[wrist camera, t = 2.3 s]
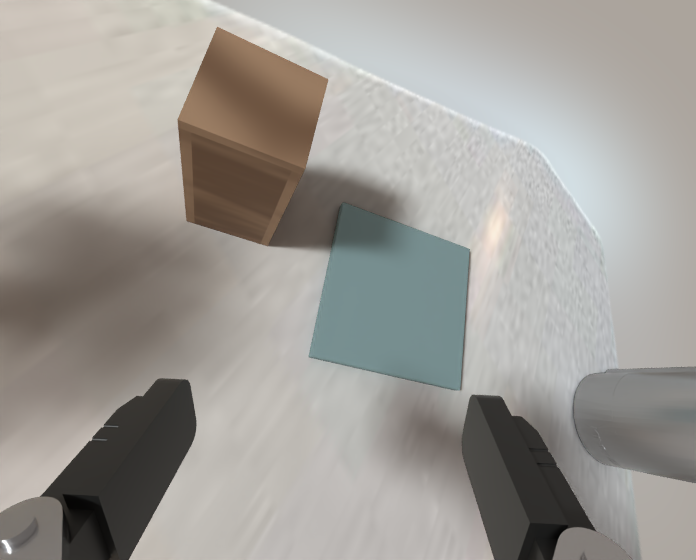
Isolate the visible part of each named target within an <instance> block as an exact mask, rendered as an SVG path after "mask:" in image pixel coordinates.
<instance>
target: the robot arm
mask: <svg viewBox="0 0 696 560" xmlns="http://www.w3.org/2000/svg"><path fill="white" fill-rule="evenodd" d="M573 409H574V420H575V424H576V429H577V432H578V434H579V437H580V439H581V441H582V443H583V445H584V447H585V448H586V449H587V451H588V452H589V453H590V455H591V456H593V457H594V458H595V459H596V460H597V461H599V462H601V463H602V464H605V465H609V466H614V467H619V468H624V469H629V470H634V471H639V472H643V473H648V474H653V475H657V476H662V477H667V478H672V479H678V480H682V481H687V482H692V483H696V367H671V368H644V369H643V368H640V369H610V370H607V371H606V372H605V373H595V374H591V375H588V376H587V377H585V378H584V379H583V380H582V381H581V383H580V384H579V386H578V388H577V390H576V394H575V398H574V407H573ZM195 433H196V416H195V410H194V404H193V398H192V392H191V386H190V383H189V381H188V380H183V379H163V378H161V379H158V380H156V381H155V383H154V384H153V385H152V386H151V387H150V389H149V390H148V391H147V392H146V393H145V395H144V396H136V397H135V398H133V399H132V400H130V401H129V402H127V403H126V404H124V405H123V406H121V407H120V408H118V409H117V410H116V412H115V413H114V414H113V415H112V416H111V417H110V418H109V419H108V421H107V422H106V423H105V424H104V427H103V428H101V429H100V430H99V431H98V432H97V433H96V434H95V435H94V436H93V438H92V441H89V442H88V443H87V444H86V446H85V447H84V448H83V449H82V450H81V451H80V452H79V453H78V455H77V456H76V457H75V458H74V459H73V460H72V461H71V463H70V464H69V465H68V466H67V467H66V468H65V469H64V470H63V472H62V473H61V474H60V475H59V476H58V477H57V478H56V480H55V481H54V482H53V483H52V484H51V485H50V486H49V487H48V489H47V490H46V491H45V492H44V493H43V494H42V495H41V496H40V497H35V498H31V499H28V500H25V501H22V502H20V503H17V504H15V505H13V506H11V507H10V508H8V509H6V510H4V511H3V512H1V513H0V560H129V558H130V556H131V554H132V553H133V551H134V549H135V547H136V545H137V543H138V542H139V540H140V538H141V536H142V534H143V532H144V531H145V529H146V527H147V525H148V523H149V522H150V520H151V518H152V516H153V514H154V512H155V511H156V509H157V507H158V505H159V503H160V501H161V500H162V498H163V496H164V494H165V492H166V490H167V489H168V487H169V485H170V483H171V481H172V479H173V478H174V476H175V474H176V472H177V470H178V468H179V467H180V465H181V463H182V461H183V459H184V457H185V456H186V454H187V452H188V450H189V448H190V447H191V445H192V442H193V440H194V437H195ZM462 453H463V458H464V462H465V465H466V468H467V472H468V475H469V478H470V481H471V485H472V488H473V491H474V494H475V498H476V501H477V504H478V507H479V511H480V514H481V517H482V520H483V524H484V527H485V530H486V533H487V537H488V540H489V543H490V546H491V550H492V553H493V556H494V559H495V560H632V558H631V557H630V556H629V555H628V554H627V553H626V552H625V551H624V550H623V549H622V548H621V547H620V546H619V545H617V544H616V543H615V542H613V541H612V540H610V539H609V538H607V537H606V536H604V535H602V534H600V533H598V532H596V530H595V529H594V527H593V526H592V524H591V522H590V521H589V519H588V517H587V515H586V514H585V512H584V510H583V509H582V507H581V505H580V503H579V502H578V500H577V498H576V497H575V495H574V493H573V491H572V490H571V488H570V486H569V484H568V483H567V481H566V479H565V478H564V476H563V474H562V472H561V471H560V469H559V468H557V466H556V462H555V460H554V459H553V457H552V455H551V454H550V453H548V448H547V447H546V445H545V443H544V442H543V440H542V438H541V436H540V435H539V433H538V431H536V430H535V429H534V428H533V427H532V426H531V425H530V424H529V423H528V422H527V421H526V420H525V419H524V418H522V417H520V416H511V414H510V412H509V410H508V408H507V406H506V404H505V402H504V400H503V399H502V398H501V397H500V396H489V395H472V396H471V397H470V400H469V404H468V409H467V414H466V419H465V424H464V429H463V434H462Z"/></svg>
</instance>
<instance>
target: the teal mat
mask: <svg viewBox="0 0 696 560" xmlns="http://www.w3.org/2000/svg"><path fill="white" fill-rule="evenodd" d="M469 252H470V249H468V248H465V247H463V246H460V245H457V244H455V243H452V242H449V241H447V240H444V239H441V238H438V237H436V236H433V235H430V234H428V233H425V232H422V231H420V230H417V229H414V228H412V227H409V226H406V225H403V224H401V223H398V222H395V221H393V220H390V219H387V218H385V217H382V216H379V215H376V214H374V213H371V212H368V211H366V210H363V209H360V208H358V207H355V206H352V205H350V204H347V203H344V202H343V203H342V205H341V206H340V210H339V215H338V220H337V225H336V229H335V234H334V239H333V244H332V248H331V253H330V258H329V263H328V267H327V272H326V277H325V282H324V286H323V291H322V296H321V301H320V305H319V310H318V315H317V319H316V324H315V329H314V334H313V338H312V343H311V348H310V353H309V357H310V358H314V359H319V360H323V361H328V362H332V363H336V364H341V365H345V366H350V367H354V368H359V369H363V370H367V371H372V372H376V373H381V374H385V375H389V376H394V377H398V378H403V379H407V380H411V381H416V382H420V383H425V384H429V385H433V386H438V387H442V388H447V389H451V390H460V385H461V370H462V355H463V340H464V326H465V311H466V296H467V281H468V266H469Z"/></svg>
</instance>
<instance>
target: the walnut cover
mask: <svg viewBox="0 0 696 560" xmlns="http://www.w3.org/2000/svg"><path fill="white" fill-rule="evenodd" d="M327 83H328V79H326V78H324V77H322V76H320V75H318V74H316V73H314V72H312V71H310V70H307V69H305V68H303V67H301V66H299V65H297V64H295V63H293V62H291V61H288V60H286V59H284V58H282V57H280V56H278V55H276V54H274V53H271V52H269V51H267V50H265V49H263V48H261V47H259V46H257V45H255V44H252V43H250V42H248V41H246V40H244V39H242V38H240V37H238V36H236V35H233V34H231V33H229V32H227V31H225V30H223V29H221V28H219V27H217V28H216V31H215V33H214V36H213V38H212V40H211V43H210V45H209V47H208V50H207V52H206V54H205V57H204V59H203V61H202V64H201V66H200V68H199V71H198V73H197V75H196V78H195V80H194V82H193V85H192V87H191V89H190V92H189V94H188V96H187V99H186V101H185V103H184V106H183V108H182V111H181V113H180V115H179V118H178V130H179V141H180V152H181V163H182V175H183V186H184V197H185V209H186V220H187V221H189V222H192V223H195V224H198V225H201V226H205V227H208V228H211V229H214V230H217V231H221V232H224V233H227V234H230V235H234V236H237V237H240V238H243V239H246V240H250V241H253V242H256V243H259V244H262V245H266V246H268V244H269V242H270V240H271V238H272V236H273V234H274V232H275V230H276V228H277V226H278V224H279V222H280V220H281V218H282V216H283V213H284V211H285V209H286V207H287V205H288V203H289V201H290V199H291V197H292V195H293V193H294V191H295V189H296V187H297V185H298V183H299V181H300V179H301V176H302V174H303V172H304V170H305V168H306V164H307V160H308V156H309V152H310V148H311V144H312V141H313V137H314V133H315V129H316V125H317V121H318V117H319V114H320V110H321V106H322V102H323V98H324V94H325V90H326V87H327Z"/></svg>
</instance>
